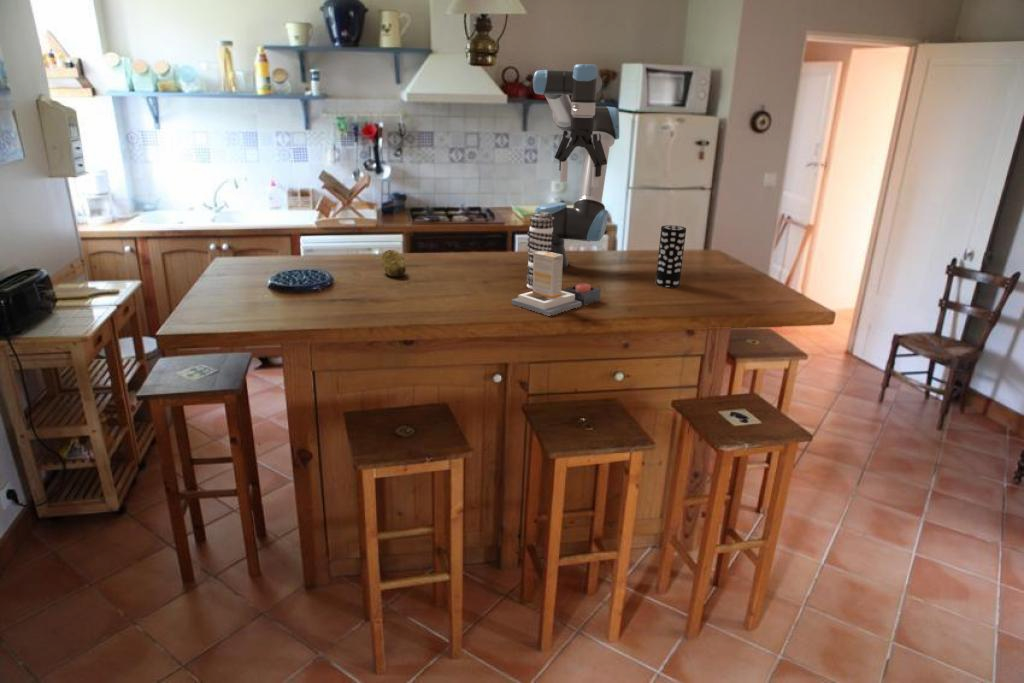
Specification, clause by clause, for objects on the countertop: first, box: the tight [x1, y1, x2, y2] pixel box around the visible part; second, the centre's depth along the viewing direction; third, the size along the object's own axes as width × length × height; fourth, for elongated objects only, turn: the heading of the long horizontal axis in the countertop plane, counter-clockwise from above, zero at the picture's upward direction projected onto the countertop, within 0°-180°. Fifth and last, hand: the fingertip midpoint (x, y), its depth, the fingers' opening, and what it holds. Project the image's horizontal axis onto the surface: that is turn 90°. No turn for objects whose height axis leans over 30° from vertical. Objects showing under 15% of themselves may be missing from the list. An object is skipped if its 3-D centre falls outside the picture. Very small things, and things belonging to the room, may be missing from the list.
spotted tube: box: [655, 224, 687, 289], centre depth 233 cm, size 8×8×20 cm
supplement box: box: [532, 251, 563, 298], centre depth 207 cm, size 8×5×13 cm, turn 47°
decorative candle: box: [526, 211, 555, 290], centre depth 226 cm, size 9×9×25 cm
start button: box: [574, 282, 592, 292], centre depth 215 cm, size 5×5×4 cm
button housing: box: [564, 284, 602, 306], centre depth 215 cm, size 8×8×4 cm
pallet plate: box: [510, 289, 583, 317], centre depth 210 cm, size 16×15×4 cm
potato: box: [380, 249, 407, 278], centre depth 238 cm, size 8×13×8 cm, turn 11°
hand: (578, 184), depth 223 cm, fingers open, 13 cm apart
